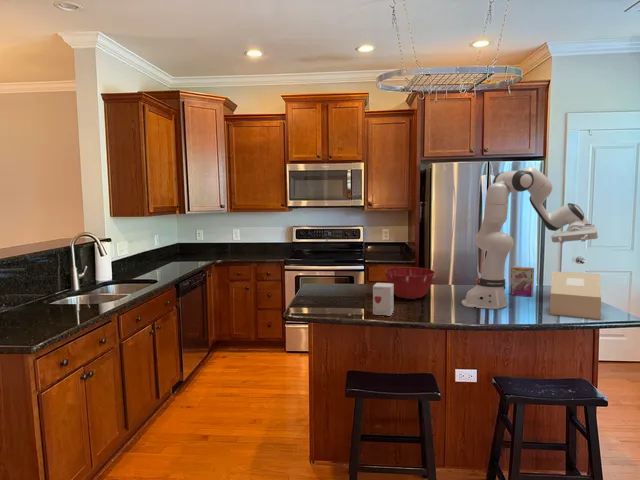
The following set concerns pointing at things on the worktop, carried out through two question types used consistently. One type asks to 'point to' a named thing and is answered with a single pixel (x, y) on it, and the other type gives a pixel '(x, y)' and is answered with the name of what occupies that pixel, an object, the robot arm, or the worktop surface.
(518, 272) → the candy bar box
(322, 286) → the worktop surface
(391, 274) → the mixing bowl
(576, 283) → the carton flap
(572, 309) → the carton
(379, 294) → the supplement box
